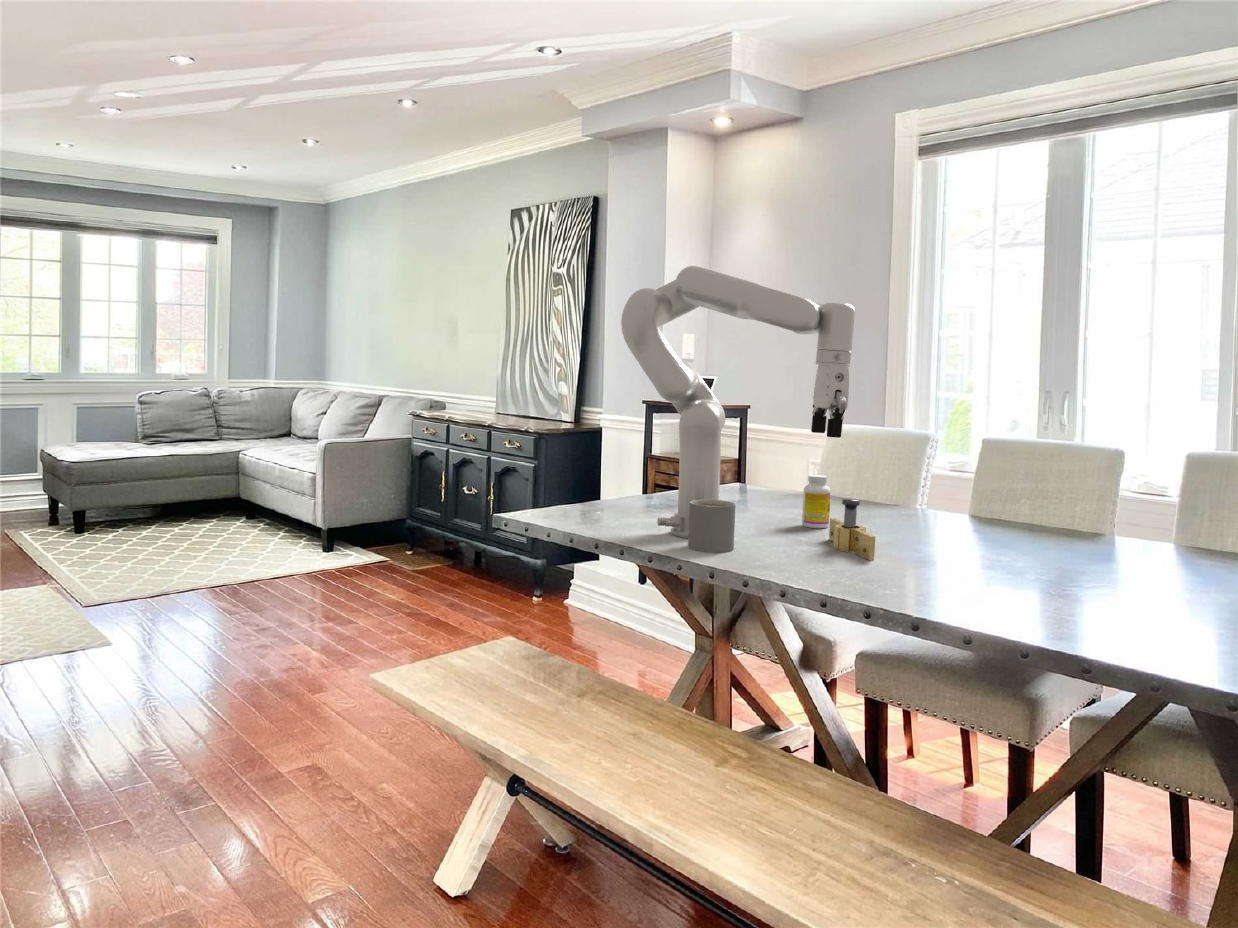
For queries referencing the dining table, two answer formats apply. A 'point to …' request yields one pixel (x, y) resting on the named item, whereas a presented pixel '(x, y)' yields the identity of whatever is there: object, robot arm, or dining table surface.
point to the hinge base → (854, 541)
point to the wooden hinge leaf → (832, 525)
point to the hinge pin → (850, 512)
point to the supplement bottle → (816, 502)
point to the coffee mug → (711, 526)
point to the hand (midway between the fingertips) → (825, 434)
